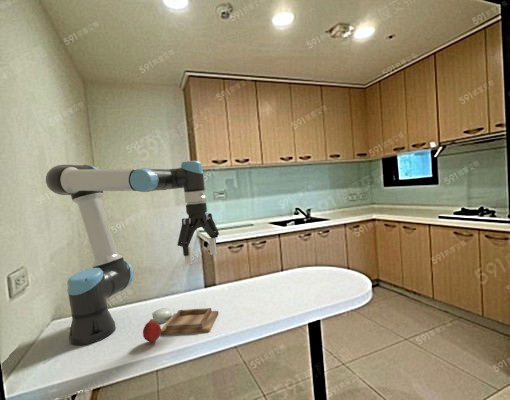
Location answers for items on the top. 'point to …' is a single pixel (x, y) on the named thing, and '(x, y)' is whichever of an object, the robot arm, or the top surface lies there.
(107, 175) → the robot arm
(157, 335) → the onion
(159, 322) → the pale green dome
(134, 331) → the top surface
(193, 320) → the tray
